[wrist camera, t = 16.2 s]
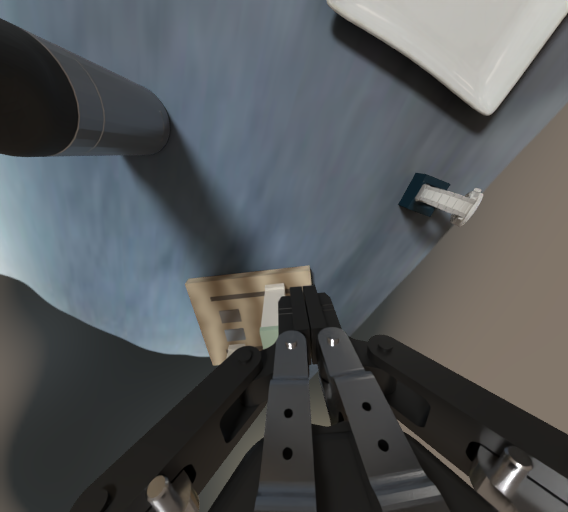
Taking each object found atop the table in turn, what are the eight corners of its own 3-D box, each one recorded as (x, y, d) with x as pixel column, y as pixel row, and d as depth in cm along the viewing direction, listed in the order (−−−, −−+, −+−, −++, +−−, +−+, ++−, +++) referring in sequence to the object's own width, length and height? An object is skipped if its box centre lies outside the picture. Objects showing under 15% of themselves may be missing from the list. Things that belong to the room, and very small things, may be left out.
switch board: (215, 358, 54) (212, 366, 52) (188, 278, 45) (184, 284, 43) (315, 348, 54) (317, 356, 51) (309, 265, 45) (310, 271, 42)
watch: (429, 216, 41) (477, 236, 31) (389, 201, 40) (426, 217, 30) (448, 185, 39) (506, 196, 29) (406, 168, 37) (452, 174, 27)
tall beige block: (268, 304, 45) (263, 352, 34) (264, 285, 43) (259, 329, 32) (287, 302, 45) (289, 349, 34) (284, 282, 43) (285, 327, 32)
